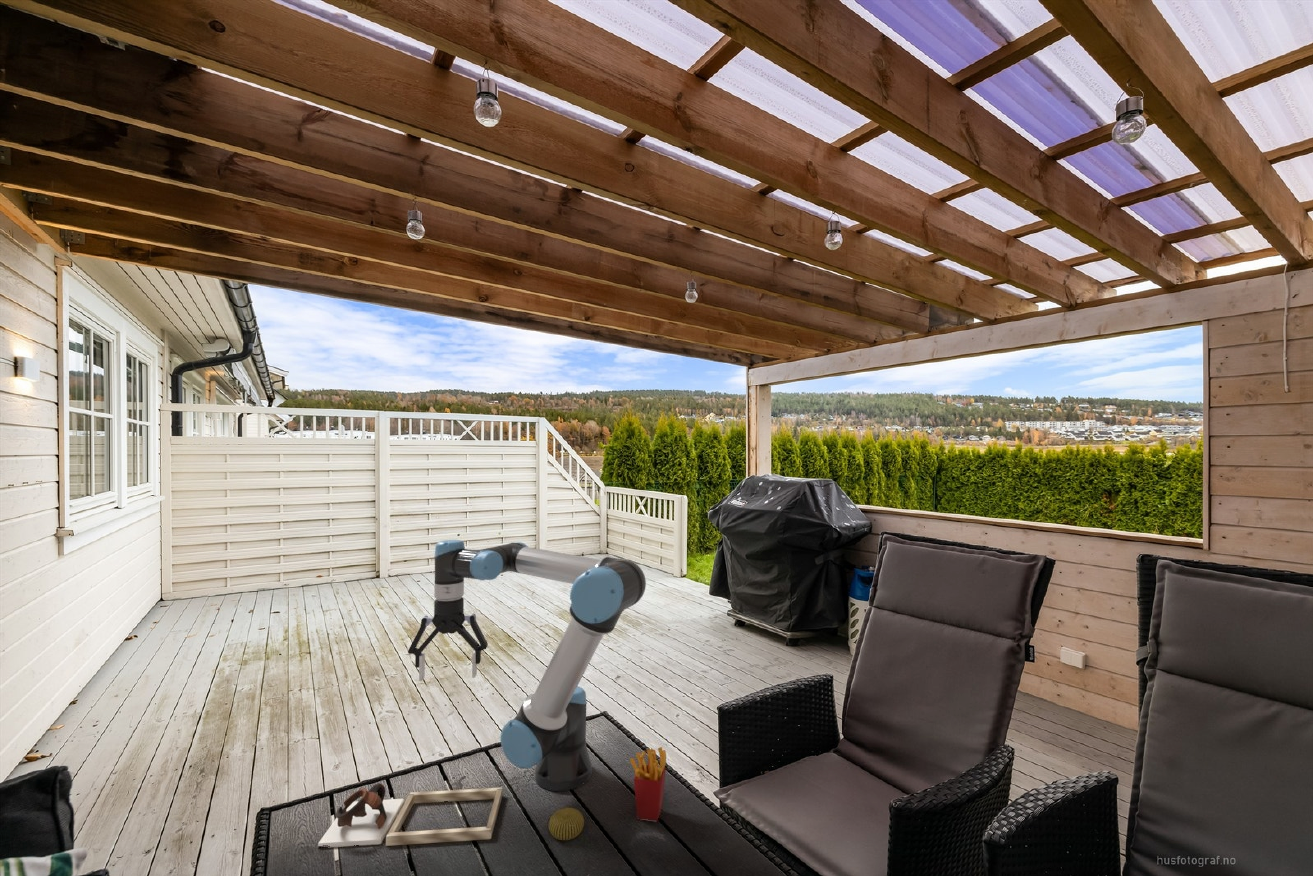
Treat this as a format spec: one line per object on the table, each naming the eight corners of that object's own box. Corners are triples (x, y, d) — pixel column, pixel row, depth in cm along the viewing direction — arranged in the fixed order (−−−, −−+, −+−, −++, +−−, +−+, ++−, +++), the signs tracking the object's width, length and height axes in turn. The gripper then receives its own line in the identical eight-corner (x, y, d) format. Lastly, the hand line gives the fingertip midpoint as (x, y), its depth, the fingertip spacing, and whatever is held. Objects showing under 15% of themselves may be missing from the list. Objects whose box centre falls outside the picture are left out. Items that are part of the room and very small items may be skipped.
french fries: (660, 826, 131) (661, 760, 131) (626, 820, 132) (626, 755, 133) (668, 803, 139) (668, 741, 140) (635, 799, 141) (636, 737, 142)
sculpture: (582, 802, 133) (585, 823, 125) (582, 819, 133) (585, 842, 125) (548, 805, 132) (548, 828, 124) (548, 823, 131) (548, 846, 124)
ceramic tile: (403, 802, 139) (403, 798, 139) (380, 844, 124) (380, 839, 124) (347, 806, 137) (348, 801, 137) (317, 848, 122) (318, 843, 122)
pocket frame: (502, 795, 142) (502, 787, 142) (490, 839, 126) (491, 829, 126) (409, 800, 139) (410, 792, 140) (385, 845, 123) (386, 836, 123)
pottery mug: (377, 840, 124) (356, 811, 123) (342, 854, 126) (322, 826, 124) (403, 794, 136) (385, 768, 135) (372, 808, 137) (353, 782, 136)
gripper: (396, 603, 147) (395, 686, 146) (494, 599, 151) (494, 679, 150) (404, 596, 155) (403, 675, 154) (498, 592, 159) (497, 669, 158)
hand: (448, 677), depth 152 cm, fingers open, 13 cm apart
